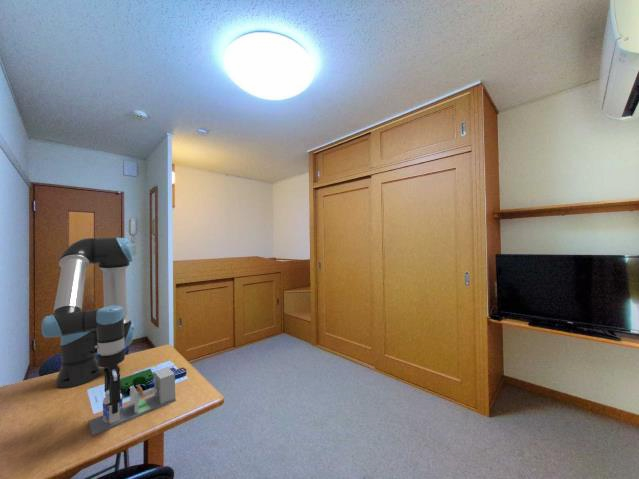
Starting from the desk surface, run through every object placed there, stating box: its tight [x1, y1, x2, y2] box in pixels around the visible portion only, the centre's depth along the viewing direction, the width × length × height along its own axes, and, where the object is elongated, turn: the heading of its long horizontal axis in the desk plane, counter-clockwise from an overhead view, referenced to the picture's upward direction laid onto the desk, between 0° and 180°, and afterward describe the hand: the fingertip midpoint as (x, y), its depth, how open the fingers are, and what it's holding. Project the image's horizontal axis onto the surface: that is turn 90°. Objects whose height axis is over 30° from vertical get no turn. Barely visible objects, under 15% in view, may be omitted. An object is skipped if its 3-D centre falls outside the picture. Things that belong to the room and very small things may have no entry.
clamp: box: [120, 368, 154, 394], centre depth 113 cm, size 12×6×9 cm, turn 132°
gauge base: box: [88, 366, 177, 437], centre depth 98 cm, size 9×25×10 cm, turn 137°
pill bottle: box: [102, 390, 123, 423], centre depth 93 cm, size 5×5×10 cm
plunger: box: [129, 385, 159, 413], centre depth 103 cm, size 7×14×7 cm, turn 137°
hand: (112, 417), depth 93 cm, fingers open, 5 cm apart
